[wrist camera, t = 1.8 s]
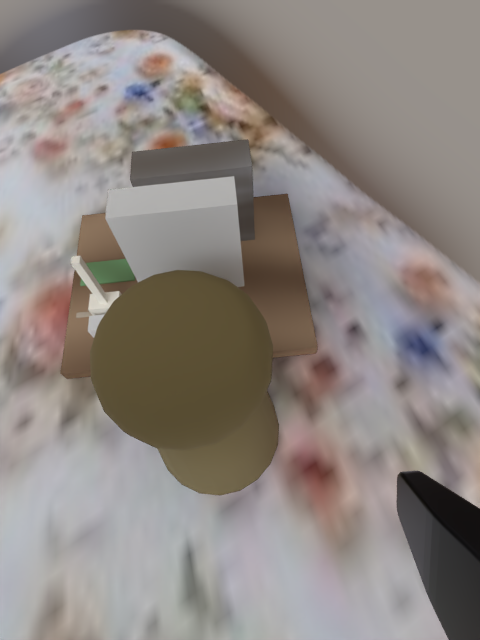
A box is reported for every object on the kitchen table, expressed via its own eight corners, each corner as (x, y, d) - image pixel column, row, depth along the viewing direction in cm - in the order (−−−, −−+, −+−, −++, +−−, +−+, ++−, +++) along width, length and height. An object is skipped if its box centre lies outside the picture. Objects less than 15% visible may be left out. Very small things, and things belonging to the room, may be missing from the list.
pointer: (124, 316, 22) (91, 266, 18) (95, 318, 22) (56, 270, 18) (125, 300, 22) (93, 249, 18) (96, 303, 22) (59, 252, 18)
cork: (144, 396, 21) (37, 278, 11) (251, 355, 21) (239, 211, 12) (177, 517, 18) (74, 498, 8) (299, 464, 19) (335, 393, 9)
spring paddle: (249, 343, 21) (237, 204, 12) (92, 359, 21) (-36, 233, 12) (245, 307, 22) (231, 154, 13) (95, 323, 22) (-20, 181, 13)
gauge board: (315, 353, 21) (333, 290, 16) (67, 378, 21) (-3, 325, 16) (287, 202, 27) (292, 115, 21) (87, 223, 27) (40, 143, 21)
